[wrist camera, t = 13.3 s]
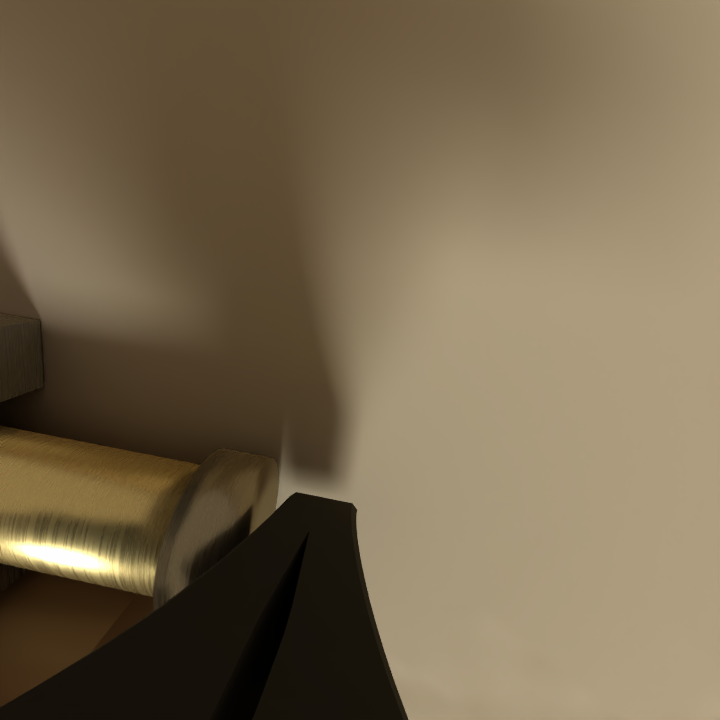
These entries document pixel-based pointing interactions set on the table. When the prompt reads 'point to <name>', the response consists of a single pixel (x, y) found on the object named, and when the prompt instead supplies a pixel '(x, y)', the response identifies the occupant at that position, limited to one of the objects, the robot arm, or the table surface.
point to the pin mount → (18, 382)
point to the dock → (57, 626)
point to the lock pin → (126, 511)
